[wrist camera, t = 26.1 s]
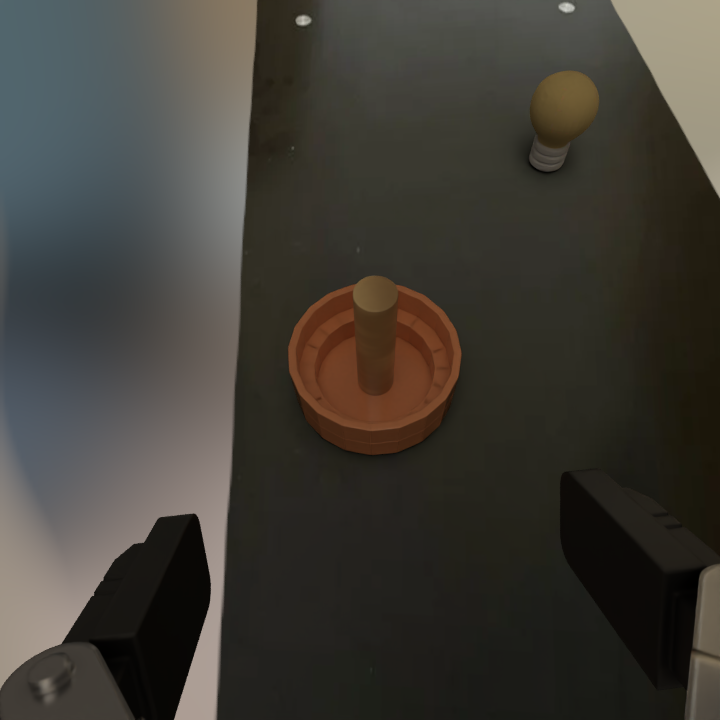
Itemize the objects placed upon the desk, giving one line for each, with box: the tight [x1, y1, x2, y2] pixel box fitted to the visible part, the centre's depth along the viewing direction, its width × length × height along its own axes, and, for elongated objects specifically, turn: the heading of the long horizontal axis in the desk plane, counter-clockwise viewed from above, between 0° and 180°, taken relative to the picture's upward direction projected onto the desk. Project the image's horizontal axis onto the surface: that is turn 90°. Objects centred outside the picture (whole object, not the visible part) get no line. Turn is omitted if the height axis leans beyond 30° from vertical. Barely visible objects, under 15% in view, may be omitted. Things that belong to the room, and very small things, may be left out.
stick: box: [353, 276, 398, 396], centre depth 40 cm, size 3×3×12 cm
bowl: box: [288, 284, 462, 455], centre depth 44 cm, size 13×13×6 cm
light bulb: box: [529, 71, 599, 172], centre depth 55 cm, size 6×6×10 cm
